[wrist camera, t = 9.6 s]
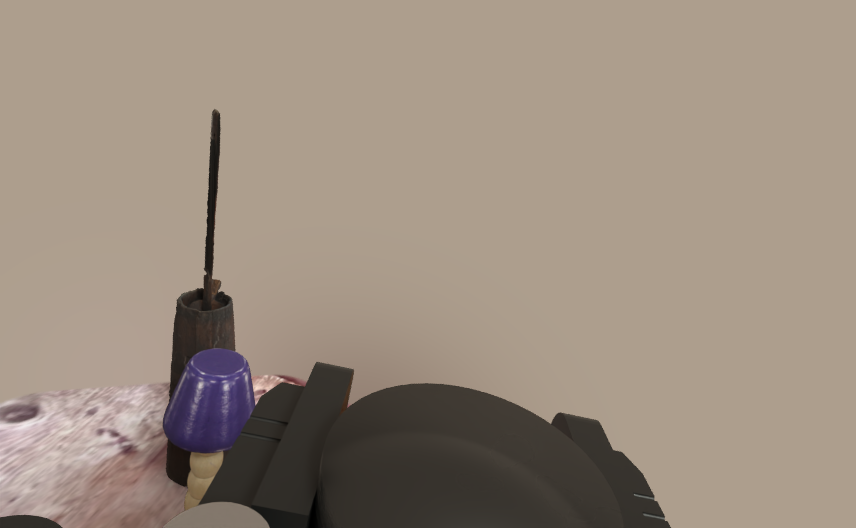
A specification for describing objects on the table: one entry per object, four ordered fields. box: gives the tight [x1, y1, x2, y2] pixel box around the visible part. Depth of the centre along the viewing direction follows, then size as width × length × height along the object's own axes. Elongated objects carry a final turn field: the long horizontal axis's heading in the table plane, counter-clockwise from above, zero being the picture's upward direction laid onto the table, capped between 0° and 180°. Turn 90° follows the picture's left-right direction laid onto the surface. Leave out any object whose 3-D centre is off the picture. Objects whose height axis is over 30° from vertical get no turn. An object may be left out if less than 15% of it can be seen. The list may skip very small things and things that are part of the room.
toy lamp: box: [163, 348, 255, 511], centre depth 29 cm, size 5×5×17 cm
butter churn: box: [166, 110, 235, 486], centre depth 38 cm, size 9×10×28 cm
